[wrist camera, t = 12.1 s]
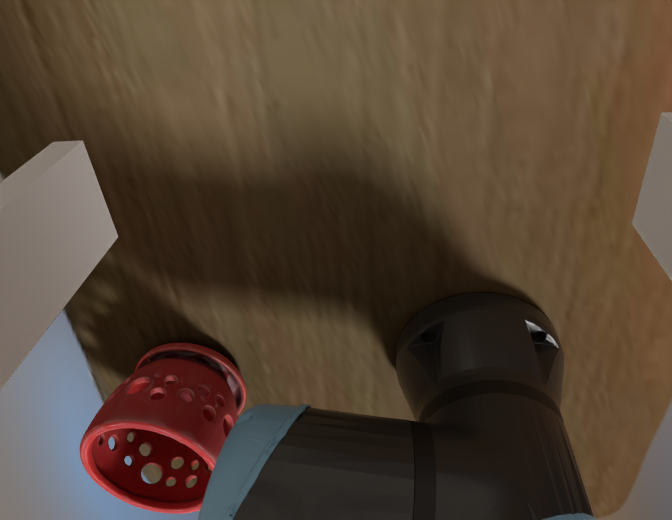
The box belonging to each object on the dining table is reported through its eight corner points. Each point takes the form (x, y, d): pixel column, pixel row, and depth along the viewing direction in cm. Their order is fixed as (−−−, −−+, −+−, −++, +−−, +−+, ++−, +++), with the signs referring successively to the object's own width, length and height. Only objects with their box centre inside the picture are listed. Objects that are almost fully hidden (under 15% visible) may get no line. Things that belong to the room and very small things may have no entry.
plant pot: (250, 333, 53) (218, 435, 43) (255, 419, 60) (228, 523, 51) (120, 320, 53) (59, 418, 44) (140, 407, 61) (92, 508, 51)
